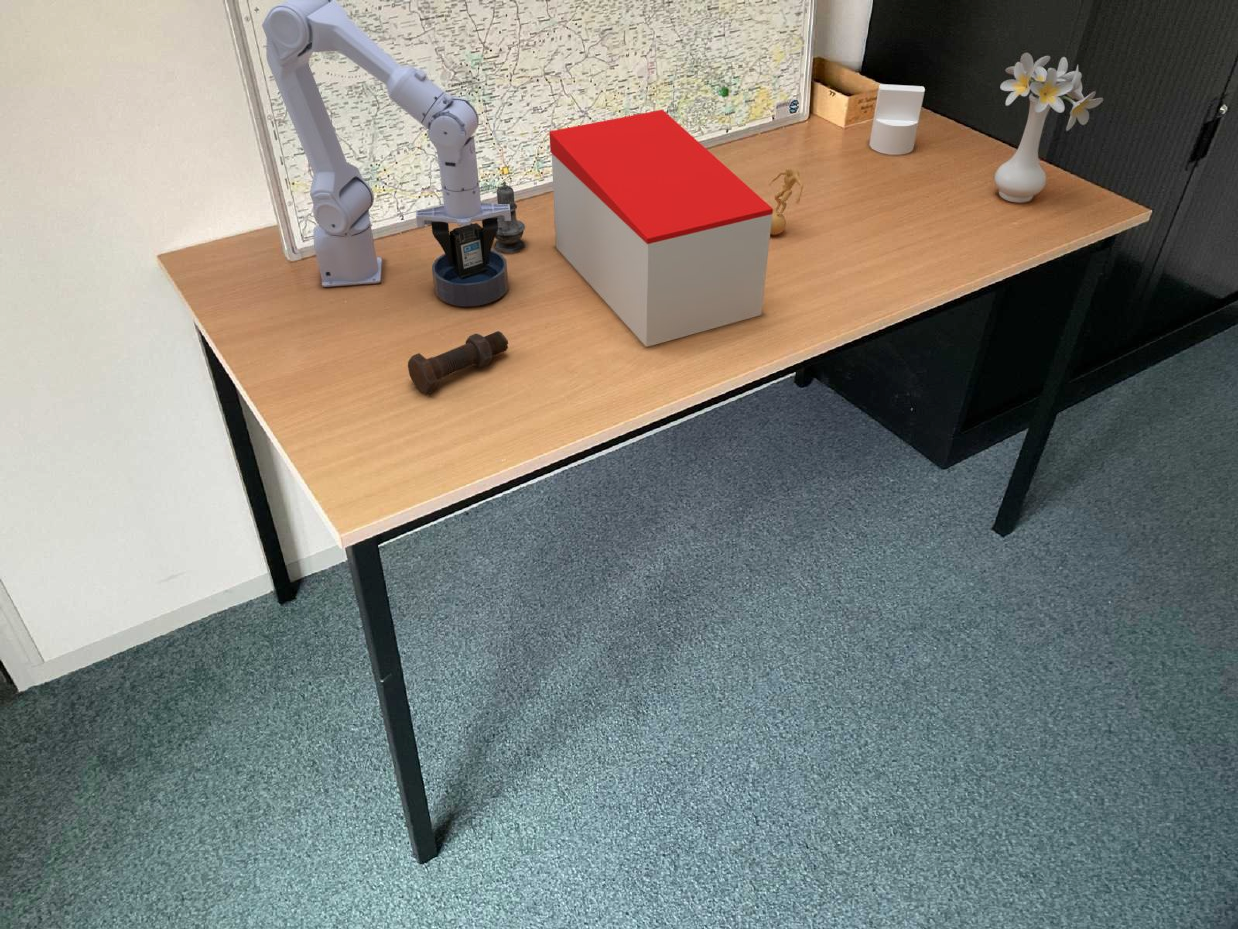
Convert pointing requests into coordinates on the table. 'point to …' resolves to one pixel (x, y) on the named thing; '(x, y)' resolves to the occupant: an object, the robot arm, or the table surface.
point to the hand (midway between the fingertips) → (469, 262)
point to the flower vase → (1038, 121)
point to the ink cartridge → (468, 250)
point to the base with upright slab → (896, 118)
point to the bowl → (470, 282)
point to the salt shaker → (509, 224)
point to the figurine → (784, 198)
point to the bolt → (455, 360)
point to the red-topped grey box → (658, 226)
